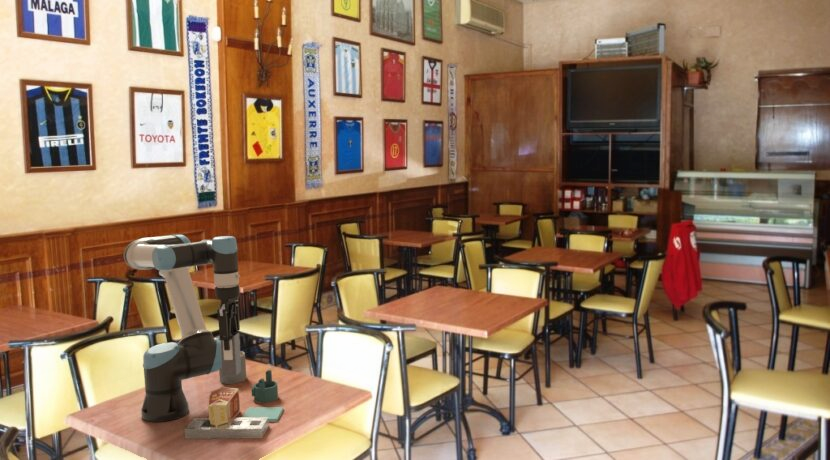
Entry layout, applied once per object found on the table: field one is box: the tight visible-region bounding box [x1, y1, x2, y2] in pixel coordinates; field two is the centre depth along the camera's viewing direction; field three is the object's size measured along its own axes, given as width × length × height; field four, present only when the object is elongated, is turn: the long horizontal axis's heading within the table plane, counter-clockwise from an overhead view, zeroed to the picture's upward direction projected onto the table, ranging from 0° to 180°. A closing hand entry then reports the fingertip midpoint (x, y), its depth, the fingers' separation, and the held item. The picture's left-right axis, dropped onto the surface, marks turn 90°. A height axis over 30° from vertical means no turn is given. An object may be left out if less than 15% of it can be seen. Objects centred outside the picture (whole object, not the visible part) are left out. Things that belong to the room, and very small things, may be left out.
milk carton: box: [207, 386, 241, 428], centre depth 226 cm, size 9×9×20 cm
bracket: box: [250, 369, 279, 404], centre depth 247 cm, size 9×9×9 cm
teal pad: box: [241, 406, 285, 423], centre depth 232 cm, size 12×10×1 cm
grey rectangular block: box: [220, 332, 241, 376], centre depth 221 cm, size 4×4×13 cm
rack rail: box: [183, 417, 270, 440], centre depth 219 cm, size 24×9×3 cm, turn 89°
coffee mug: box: [218, 350, 247, 385], centre depth 270 cm, size 13×10×10 cm
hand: (231, 356), depth 222 cm, fingers closed on grey rectangular block, 4 cm apart
